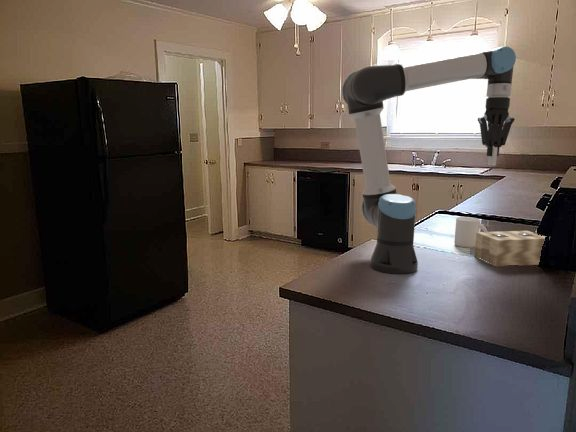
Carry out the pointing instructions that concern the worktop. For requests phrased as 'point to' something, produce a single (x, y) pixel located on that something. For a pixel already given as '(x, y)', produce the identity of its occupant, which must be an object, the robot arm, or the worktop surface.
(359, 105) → the robot arm
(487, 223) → the worktop surface
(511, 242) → the socket block
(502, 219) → the worktop surface
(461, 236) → the mug
